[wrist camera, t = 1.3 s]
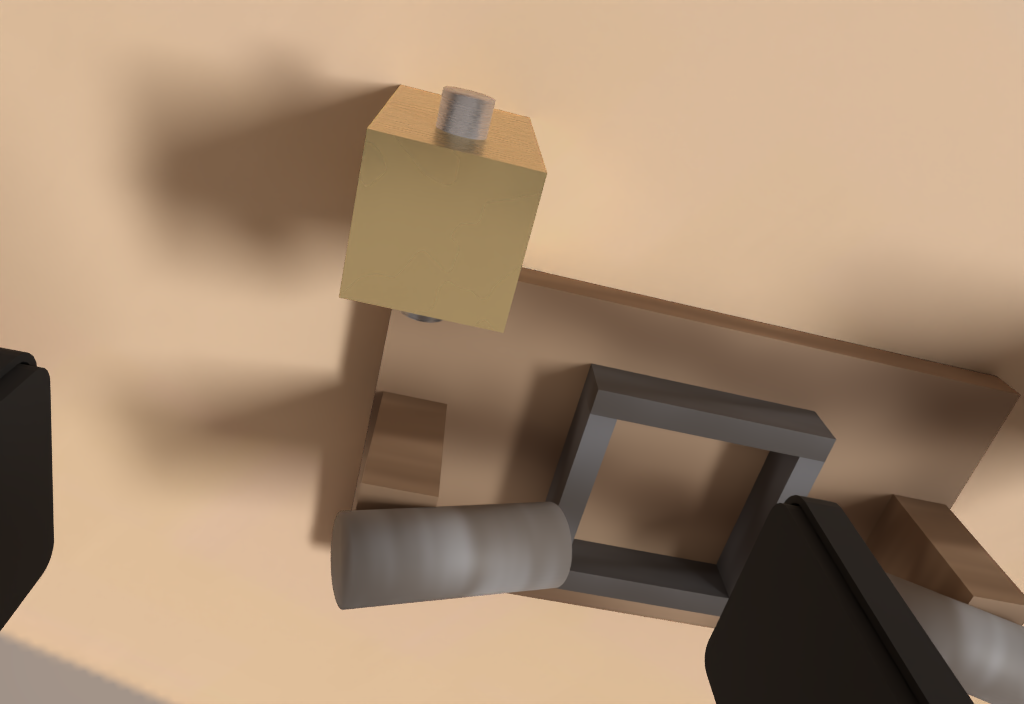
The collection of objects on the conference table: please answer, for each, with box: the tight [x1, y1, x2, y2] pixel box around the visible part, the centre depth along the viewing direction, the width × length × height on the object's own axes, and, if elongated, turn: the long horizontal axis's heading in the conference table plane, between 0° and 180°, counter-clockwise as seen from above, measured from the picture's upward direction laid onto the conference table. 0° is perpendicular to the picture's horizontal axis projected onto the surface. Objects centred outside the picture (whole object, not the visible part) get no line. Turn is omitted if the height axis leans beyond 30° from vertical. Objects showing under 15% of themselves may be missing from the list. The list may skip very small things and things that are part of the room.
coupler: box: [339, 85, 547, 333], centre depth 23 cm, size 6×4×8 cm
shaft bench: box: [331, 267, 1024, 704], centre depth 27 cm, size 14×24×10 cm, turn 76°
